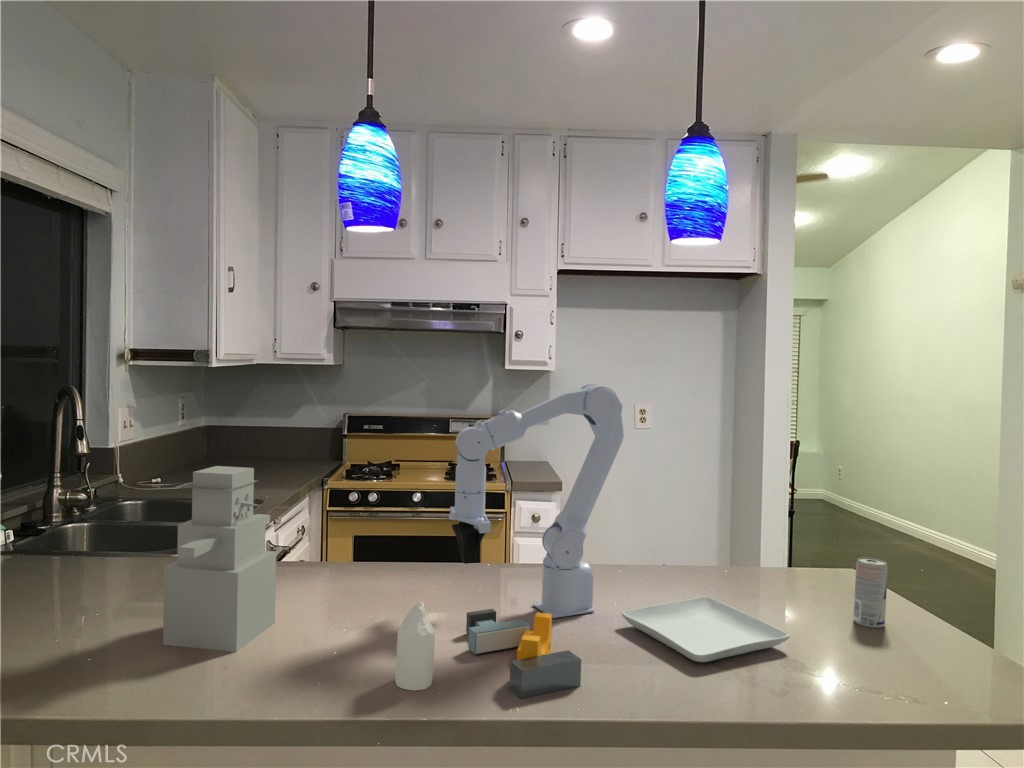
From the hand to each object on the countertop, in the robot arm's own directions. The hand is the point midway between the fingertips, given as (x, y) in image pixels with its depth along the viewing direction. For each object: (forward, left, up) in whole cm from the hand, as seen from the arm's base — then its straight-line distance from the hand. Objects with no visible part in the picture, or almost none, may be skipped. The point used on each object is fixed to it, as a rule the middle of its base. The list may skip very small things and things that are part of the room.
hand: (468, 562), depth 136 cm
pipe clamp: (0, +25, -10) cm, 27 cm away
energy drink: (-68, +35, -10) cm, 77 cm away
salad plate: (-33, +28, -10) cm, 44 cm away
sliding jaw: (+2, +15, -9) cm, 17 cm away
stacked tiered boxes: (+43, -6, -10) cm, 44 cm away
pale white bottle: (+19, +24, -10) cm, 32 cm away
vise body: (+2, +33, -9) cm, 34 cm away
